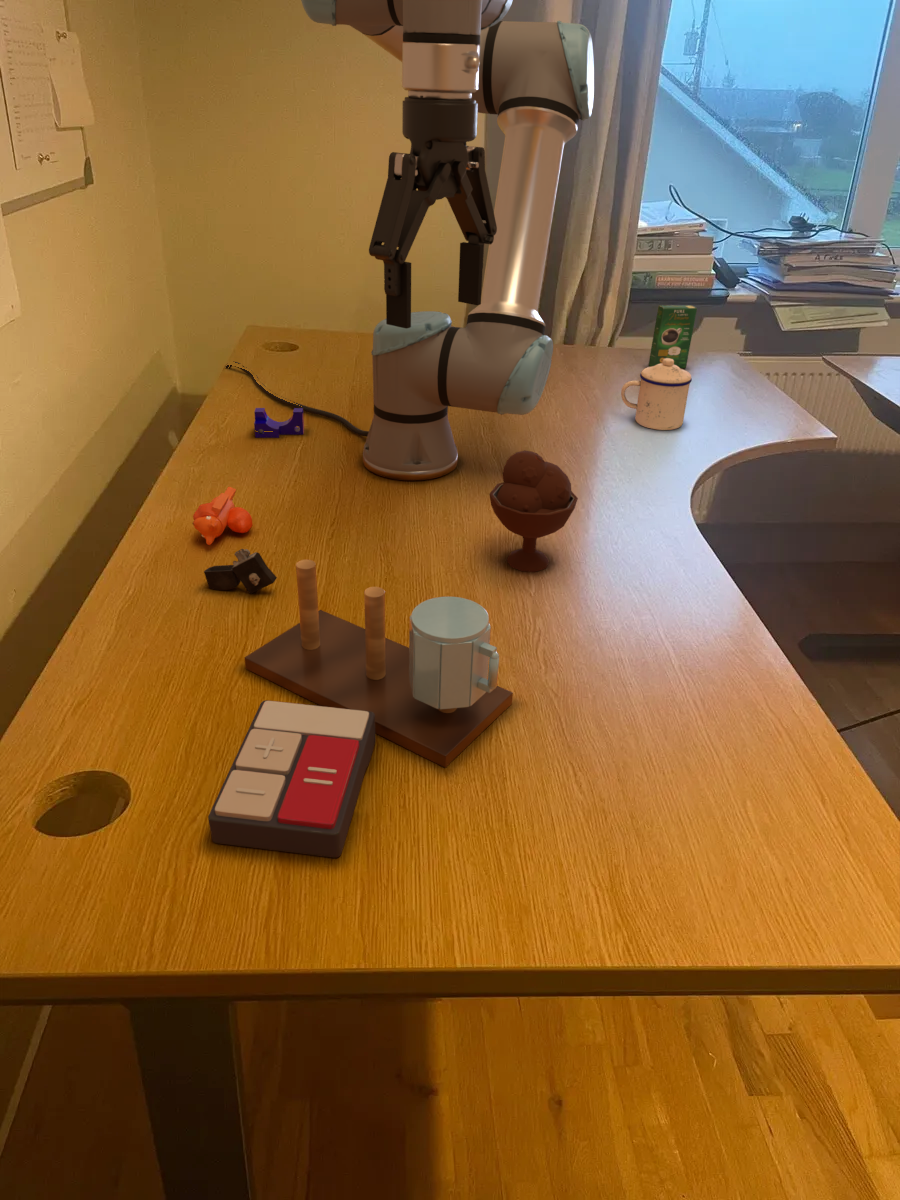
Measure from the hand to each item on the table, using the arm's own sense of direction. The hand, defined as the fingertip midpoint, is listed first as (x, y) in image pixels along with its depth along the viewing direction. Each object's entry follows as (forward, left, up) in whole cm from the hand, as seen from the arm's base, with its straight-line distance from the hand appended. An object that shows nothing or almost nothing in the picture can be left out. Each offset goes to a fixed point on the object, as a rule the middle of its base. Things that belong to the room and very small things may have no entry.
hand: (435, 314), depth 99 cm
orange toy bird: (-27, -10, -32) cm, 43 cm away
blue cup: (+20, -25, -28) cm, 42 cm away
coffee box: (-10, +102, -32) cm, 107 cm away
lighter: (-14, -20, -32) cm, 40 cm away
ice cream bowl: (+10, +8, -32) cm, 34 cm away
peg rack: (+11, -25, -32) cm, 42 cm away
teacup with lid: (+1, +68, -32) cm, 75 cm away
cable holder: (-47, +21, -32) cm, 61 cm away
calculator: (+15, -41, -32) cm, 54 cm away
